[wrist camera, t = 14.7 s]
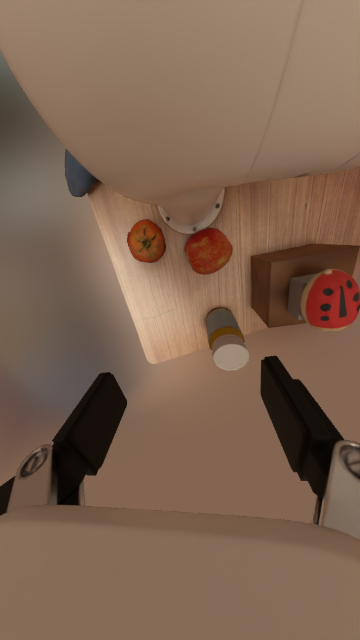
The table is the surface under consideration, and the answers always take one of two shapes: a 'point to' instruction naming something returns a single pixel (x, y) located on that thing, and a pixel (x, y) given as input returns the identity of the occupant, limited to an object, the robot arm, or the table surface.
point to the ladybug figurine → (330, 301)
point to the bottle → (226, 340)
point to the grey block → (297, 295)
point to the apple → (208, 251)
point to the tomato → (146, 241)
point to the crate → (292, 276)
